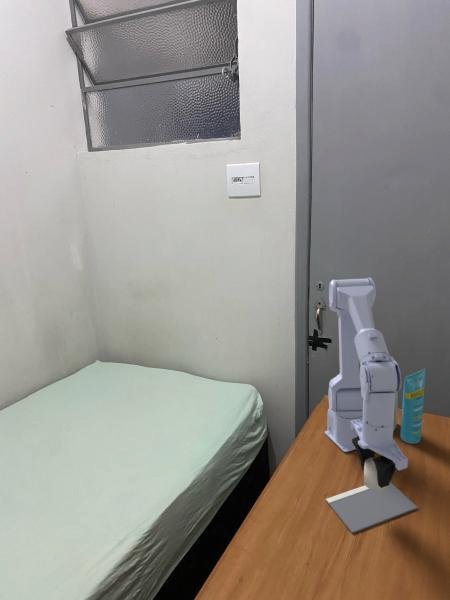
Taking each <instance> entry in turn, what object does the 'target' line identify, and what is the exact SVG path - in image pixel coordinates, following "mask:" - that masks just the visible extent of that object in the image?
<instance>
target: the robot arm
mask: <svg viewBox="0 0 450 600" xmlns="http://www.w3.org/2000/svg"><path fill="white" fill-rule="evenodd" d="M376 288H377V287H376V283H375V281H374V280H373V279H372V277H367V278H350V279H332V280H331V281H330V282H329V285H328V305H329V310H330V311H332V312H335V313H336V315H337V318H338V319H337V320H338V323H337V324H338V351H339V352H338V357H339V373H338V374H337V375H336V376H335V377H333V378H332V379H330V380H329V382H328V383H329V384H328V392H327V395H328V397H327V398H328V399H327V400H328V405H329V408H328V409H327V413H326V414H327V415H326V416H327V418H326V419H327V420H326V421H327V429H326V430H325V431H324V434H325V435H326V436H327V437H328V439H330V440H331V441H332V443H334V444H335V445H336V446H337V447H338V448H339V449H340V450H341V451H342V452H344V453H349V452H350V451H353V450H354V451H355V450H356V453H357V455H358V458H359V462H360V464H361V465H360V466H361V469H362V471H363V472H364V462H365V460H366V459H368V458H373V461H374V463H375V466H376V469H377V478H378V485H379V487H380V488H383V487H385V486H388V485H389V484H390V482H391V480H392V478H393V476H394V474H395V472H396V470H398V471H402V470H406V469H407V468H408V467H409V466H408V465H409V463H408V462H409V458H408V457H406V456H405V455H404V454H403V452H402V451H401V449H400V447H399V446H398V444H397V443H396V441H395V438H393V437H394V431H393V424H394V405H395V391H398V392H400V390H401V388H402V374H401V373H402V372H401V370H400V367H399V363H398V362H397V360H395V359H394V357H393V355H392V356H391V355H390V353H389V351H388V347H387V345H386V341H385V338H384V334H383V333H382V332H381V331H379V330H378V329H376V327H375V322H374V321H375V320H374V315H373V312H372V308H373V306H374V302H375V301H376V296H377V295H376V294H377V289H376ZM359 364H360V365H359ZM359 367H360V368H359ZM376 454H378V455H379V456H375V455H376Z"/></svg>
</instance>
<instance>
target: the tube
mask: <svg viewBox="0 0 450 600" xmlns="http://www.w3.org/2000/svg"><path fill="white" fill-rule="evenodd" d="M425 385H426V368H425V367H424V368H422V369H421V370H419V371H416V372H415V373H412V374H410V375H406V376H405V377H404V381H403V392H402V393H403V394H402V407H401V419H400V433H399V434H400V435H399V437H400V439H401V440H402V441H403V442H404V443H407V444H411V445H412V444H413V445H415V444H418V443H420V442H421V438H422V424H423V422H422V421H423V411H424V401H425V400H424V398H425V387H426V386H425Z"/></svg>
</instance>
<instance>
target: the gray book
mask: <svg viewBox="0 0 450 600" xmlns="http://www.w3.org/2000/svg"><path fill="white" fill-rule="evenodd" d="M325 502H326V503H327V504H328V506H329V507H330V508H331V509H332V510H333V512H334V513H335V514H336V516H337V517H338V518H339V519H340V520H341V522H342V523H343V525H345V527H346V528H347V529H348V531H349V532H350V533H351V534H356V533H358V532H360V531H362V530H363V531H364V530H365V529H368V528H371V527H375V526H376V525H378V524H381V523H384V522H386V521H389V520H392V519H394V518H397V517H399V516H402V515H404V514H408V513H410V512H412V511H414V510H418V506H417V505H416V504H415V503H414V502H413V501H411V499H410V498H408V497H407V496H406V495H405V494H404V493H403V492H402V491H401V490H400V489H398V488H397V486H395V484H393V483H392V482H391V481H390V484H389V485H388V486H386V488H385V489H384V490H382V491H374V490H371V489H369V488H368V487H366V486H365V484H363V485H361V486H359V487H356V488H353V489H350V490H347V491H344V492H341V493H339V494H335V495H332V496H330V497H327V498H325Z"/></svg>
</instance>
